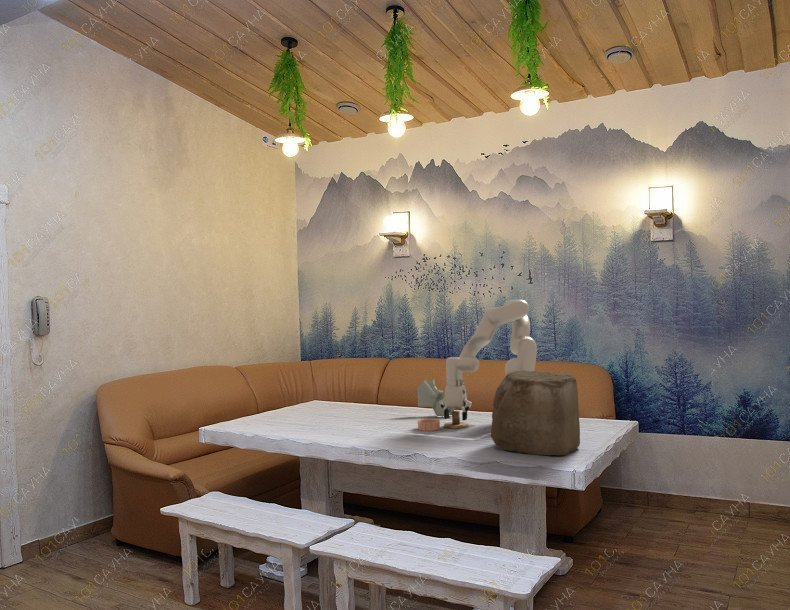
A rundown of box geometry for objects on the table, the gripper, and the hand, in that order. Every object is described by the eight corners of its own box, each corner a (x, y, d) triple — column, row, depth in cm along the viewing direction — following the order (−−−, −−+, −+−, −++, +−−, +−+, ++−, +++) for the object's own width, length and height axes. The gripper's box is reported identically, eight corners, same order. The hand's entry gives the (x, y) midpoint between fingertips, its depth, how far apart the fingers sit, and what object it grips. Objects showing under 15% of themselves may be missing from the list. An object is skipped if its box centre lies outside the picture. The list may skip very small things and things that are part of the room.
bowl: (443, 429, 301) (443, 419, 301) (432, 433, 293) (432, 423, 293) (425, 427, 307) (425, 418, 307) (414, 431, 299) (413, 421, 299)
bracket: (469, 416, 335) (468, 378, 335) (465, 418, 329) (464, 379, 329) (420, 414, 346) (419, 377, 346) (416, 416, 340) (414, 379, 340)
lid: (472, 425, 304) (472, 410, 304) (461, 429, 295) (460, 414, 295) (451, 423, 311) (451, 408, 311) (439, 427, 301) (438, 412, 302)
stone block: (478, 450, 256) (476, 375, 255) (507, 437, 275) (505, 368, 274) (560, 462, 234) (558, 381, 234) (585, 447, 254) (583, 372, 253)
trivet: (476, 427, 305) (476, 425, 305) (462, 432, 293) (461, 430, 293) (450, 424, 313) (450, 423, 313) (436, 429, 301) (435, 428, 301)
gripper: (474, 383, 301) (475, 419, 301) (443, 381, 311) (444, 416, 311) (466, 384, 295) (467, 421, 295) (434, 383, 305) (436, 419, 305)
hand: (455, 419), depth 303 cm, fingers open, 9 cm apart
